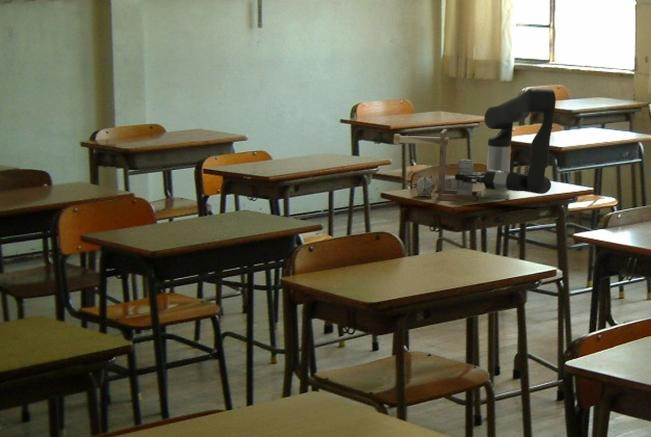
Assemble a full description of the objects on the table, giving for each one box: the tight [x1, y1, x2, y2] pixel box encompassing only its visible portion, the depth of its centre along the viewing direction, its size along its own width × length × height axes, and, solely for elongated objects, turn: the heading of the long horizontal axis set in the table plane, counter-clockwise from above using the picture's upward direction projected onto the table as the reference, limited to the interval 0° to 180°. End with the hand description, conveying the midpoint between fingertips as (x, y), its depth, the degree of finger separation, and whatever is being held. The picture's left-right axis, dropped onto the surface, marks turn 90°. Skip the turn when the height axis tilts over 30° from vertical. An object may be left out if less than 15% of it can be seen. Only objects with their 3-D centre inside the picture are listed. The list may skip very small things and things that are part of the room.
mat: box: [482, 193, 510, 201], centre depth 479 cm, size 10×10×1 cm
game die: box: [413, 175, 436, 198], centre depth 478 cm, size 9×8×10 cm
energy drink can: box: [456, 158, 474, 196], centre depth 474 cm, size 6×6×15 cm
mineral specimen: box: [435, 174, 457, 191], centre depth 495 cm, size 13×7×6 cm, turn 117°
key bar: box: [393, 133, 450, 146], centre depth 475 cm, size 4×21×4 cm, turn 79°
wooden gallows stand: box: [437, 128, 482, 202], centre depth 473 cm, size 13×16×26 cm
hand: (459, 175), depth 475 cm, fingers closed on energy drink can, 6 cm apart
